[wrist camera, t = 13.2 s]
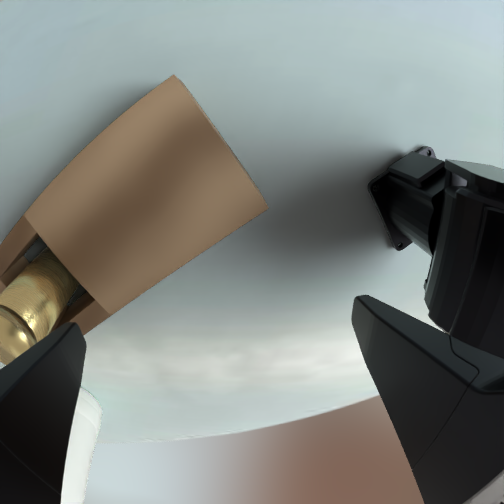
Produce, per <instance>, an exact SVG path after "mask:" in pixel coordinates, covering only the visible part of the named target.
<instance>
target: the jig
mask: <svg viewBox="0 0 504 504" xmlns="http://www.w3.org/2000/svg"><path fill="white" fill-rule="evenodd" d="M267 209H269V207H268V205H267V204H266V202H265V200H264V198H263V196H262V194H261V193H260V191H259V189H258V188H257V186H256V185H255V183H254V182H253V181H252V179H251V178H250V176H249V175H248V173H247V172H246V170H245V169H244V167H243V166H242V165H241V163H240V162H239V160H238V159H237V157H236V156H235V155H234V153H233V152H232V150H231V149H230V147H229V146H228V145H227V143H226V142H225V140H224V139H223V137H222V136H221V135H220V133H219V132H218V130H217V129H216V128H215V126H214V125H213V123H212V122H211V121H210V119H209V118H208V117H207V115H206V114H205V112H204V111H203V110H202V108H201V107H200V106H199V104H198V103H197V101H196V100H195V99H194V97H193V96H192V95H191V93H190V92H189V91H188V89H187V88H186V86H185V85H184V84H183V82H181V81H180V80H179V79H178V78H177V77H176V76H175V75H172V76H171V77H170V78H168V79H167V80H165V81H164V82H163V83H161V84H160V85H159V86H157V87H156V88H155V89H153V90H152V91H151V92H149V93H148V94H147V95H145V96H144V97H143V98H141V99H140V100H139V101H138V102H136V103H135V104H134V105H133V106H131V107H130V108H129V109H128V110H127V111H125V112H124V113H123V114H122V115H121V116H119V117H118V118H117V119H116V120H115V121H114V122H112V123H111V124H110V125H109V126H108V127H107V128H106V129H104V130H103V131H102V132H101V133H100V134H99V135H98V136H97V137H96V138H95V139H93V140H92V141H91V142H90V143H89V144H88V145H87V146H86V147H85V148H84V149H83V150H82V151H81V152H80V153H79V154H78V155H77V156H76V157H75V158H74V159H73V160H72V161H71V162H70V163H69V164H68V165H67V166H66V167H65V168H64V169H63V170H62V171H61V172H60V173H59V174H58V175H57V176H56V178H55V179H54V180H53V181H52V182H51V183H50V184H49V185H48V186H47V187H46V189H45V190H44V191H43V192H42V193H41V194H40V195H39V197H38V198H37V199H36V200H35V201H34V202H33V204H32V205H31V206H30V207H29V208H28V210H27V211H26V212H25V213H24V215H23V216H22V217H21V218H20V220H19V221H18V222H17V223H16V225H15V226H14V227H13V229H12V230H11V231H10V233H9V234H8V235H7V237H6V238H5V239H4V241H3V242H2V244H1V245H0V294H1V293H2V292H3V291H4V290H5V289H6V288H7V287H8V285H9V284H10V283H11V282H12V281H13V280H14V279H15V278H16V277H17V276H18V275H19V274H20V273H21V272H22V271H23V270H24V269H25V268H26V267H27V266H28V265H29V264H30V263H29V262H28V260H27V259H26V258H25V257H24V254H25V253H26V252H27V251H28V250H29V248H30V247H31V246H32V245H33V244H34V243H35V241H36V240H37V239H38V238H39V237H41V238H42V239H43V241H44V242H45V243H46V244H47V246H48V247H49V248H50V249H51V250H52V252H53V253H54V254H55V255H56V256H57V258H58V259H59V260H60V261H61V262H62V264H63V265H64V266H65V267H66V268H67V269H68V270H69V272H70V273H71V274H72V275H73V276H74V277H75V278H76V279H77V281H78V282H79V283H80V284H81V285H82V286H83V287H84V288H85V289H86V290H87V292H86V293H85V294H84V295H82V296H81V297H80V298H79V299H78V300H76V301H75V302H74V303H73V304H72V305H70V306H69V307H68V306H67V305H66V306H65V307H64V309H63V311H62V312H61V314H60V315H59V317H58V319H57V320H56V322H55V323H54V325H53V327H52V328H51V330H50V332H49V333H48V334H50V333H51V332H53V331H54V330H55V329H57V328H58V327H60V326H61V325H63V324H64V323H66V322H76V323H77V324H78V325H79V327H80V330H81V332H82V334H83V335H85V334H86V333H87V332H89V331H90V330H92V329H93V328H94V327H96V326H97V325H99V324H100V323H101V322H103V321H104V320H106V319H107V318H108V317H110V316H111V315H113V314H114V313H115V312H117V311H118V310H120V309H121V308H122V307H124V306H125V305H127V304H128V303H130V302H131V301H132V300H134V299H135V298H137V297H138V296H140V295H141V294H142V293H144V292H145V291H147V290H148V289H150V288H151V287H153V286H154V285H155V284H157V283H158V282H160V281H161V280H163V279H164V278H166V277H167V276H168V275H170V274H171V273H173V272H174V271H176V270H177V269H179V268H180V267H182V266H183V265H185V264H186V263H187V262H189V261H190V260H192V259H193V258H195V257H196V256H198V255H199V254H201V253H202V252H204V251H205V250H207V249H208V248H210V247H211V246H213V245H214V244H216V243H217V242H219V241H220V240H222V239H223V238H225V237H226V236H228V235H229V234H231V233H232V232H234V231H235V230H237V229H238V228H240V227H241V226H243V225H244V224H246V223H247V222H249V221H250V220H252V219H253V218H255V217H256V216H258V215H259V214H261V213H263V212H264V211H266V210H267Z"/></svg>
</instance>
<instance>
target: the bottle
mask: <svg viewBox="0 0 504 504" xmlns="http://www.w3.org/2000/svg"><path fill="white" fill-rule="evenodd" d="M102 415H103V412H102V407H101V405H100V404H99V402H98V400H97V399H96V398H95V397H93V396H92V395H91V394H90V393H89V392H88V391H86V390H85V389H83V388H82V387H80V391H79V395H78V400H77V404H76V408H75V413H74V418H73V423H72V428H71V433H70V439H69V444H68V450H67V456H66V463H65V470H64V477H63V485H62V494H61V504H83V503H84V497H85V492H86V485H87V481H88V475H89V471H90V466H91V461H92V457H93V452H94V448H95V443H96V439H97V435H98V434H99V431H100V427H101V419H102Z"/></svg>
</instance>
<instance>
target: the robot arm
mask: <svg viewBox="0 0 504 504" xmlns="http://www.w3.org/2000/svg"><path fill="white" fill-rule="evenodd" d="M427 151H428V152H429V153H428V155H427ZM375 185H377V188H376V189H375V190H373V187H374V186H375ZM368 190H369V192H370V194H371V197H372V199H373V201H374V203H375V205H376V207H377V210H378V212H379V214H380V216H381V219H382V221H383V223H384V225H385V228H386V230H387V232H388V235H389V237H390V239H391V242H392V244H393V247H394V248H395V249H396V250H398V251H401V250H403V249H404V248H405V247H407V246H408V245H410V244H411V243H412V242H414V243H415V244H416V245H418V246H419V247H420V248H421V249H423V250H424V251H425V252H426V253H428V254H429V255H430V256H431V257H432V260H431V264H430V269H429V273H428V277H427V279H426V280H425V283H424V289H425V298H424V300H425V302H426V305H427V307H428V309H429V314H428V316H429V318H430V319H431V320H432V321H433V322H434V323H435V324H436V325H437V326H438V327H439V328H440V329H442V330H443V331H444V332H445V333H444V332H442V331H440V330H438V329H436V328H434V327H432V326H430V325H428V324H426V323H424V322H422V321H420V320H418V319H416V318H414V317H412V316H410V315H408V314H406V313H404V312H402V311H400V310H398V309H396V308H394V307H392V306H389V305H387V304H385V303H383V302H381V301H379V300H377V299H375V298H373V297H371V296H369V295H361V296H356V297H355V299H354V303H353V311H352V325H353V328H354V331H355V334H356V337H357V340H358V343H359V346H360V349H361V352H362V355H363V358H364V360H365V363H366V365H367V368H368V370H369V372H370V374H371V376H372V378H373V381H374V383H375V385H376V387H377V389H378V392H379V394H380V396H381V398H382V400H383V403H384V405H385V407H386V410H387V412H388V414H389V416H390V419H391V421H392V423H393V425H394V428H395V430H396V433H397V435H398V437H399V440H400V442H401V445H402V447H403V449H404V452H405V454H406V457H407V459H408V461H409V464H410V466H411V469H412V472H413V475H414V477H415V479H416V482H417V485H418V487H419V490H420V492H421V495H422V498H423V501H424V503H425V504H504V169H501V168H498V167H495V166H491V165H485V164H479V163H472V162H464V161H456V160H448V159H445V162H444V161H442V160H439V159H436V156H435V153H434V151H433V149H432V148H431V147H428V146H425V147H423V148H421V149H420V150H418V151H417V152H411V153H409V154H408V155H406V156H405V157H403V158H402V159H400V160H399V161H397V162H395V163H394V164H392V165H391V166H389V168H388V171H386V172H385V173H383V174H381V175H380V176H378V177H377V178H375V179H374V180H372V181H371V182H370V183H369V185H368ZM400 242H401V243H400ZM399 243H400V245H399V246H398V244H399ZM85 353H86V341H85V339H84V337H83V334H82V332H81V330H80V327H79V325H78V324H77V323H76V322H66V323H64V324H63V325H61V326H60V327H58V328H57V329H55V330H54V331H53V332H51V333H50V334H48V335H47V336H46V337H44V338H43V339H41V340H40V341H39V342H37V343H36V344H34V345H33V346H32V347H30V348H29V349H28V350H26V351H25V352H24V353H22V354H21V355H19V356H18V357H17V358H15V359H14V360H13V361H11V362H10V363H9V364H7V365H6V366H5V367H3V368H2V369H1V370H0V504H61V494H62V485H63V477H64V470H65V463H66V456H67V450H68V444H69V439H70V433H71V428H72V423H73V418H74V413H75V408H76V404H77V400H78V395H79V391H80V386H81V380H82V373H83V366H84V360H85Z"/></svg>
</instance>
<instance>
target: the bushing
mask: <svg viewBox="0 0 504 504" xmlns="http://www.w3.org/2000/svg"><path fill="white" fill-rule="evenodd" d="M79 285H80V283H79V282H78V281H77V279H76V278H75V277H74V276H73V275H72V274H71V273H70V272H69V270H68V269H67V268H66V267H65V266H64V265H63V264H62V262H61V261H60V260H59V259H58V258H57V256H56V255H55V254H54V253H53V252H52V250H51V249H50V248H49V247H48V246H47V247H46V248H45V249H44V250H43V251H42V252H41V253H40V254H39V255H38V256H37V257H36V258H35V259H34V260H33V261H32V262H31V263H30V264H29V265H28V266H27V267H26V268H25V269H24V270H23V271H22V272H21V273H20V274H19V275H18V276H17V277H16V278H15V279H14V280H13V281H12V282H11V283H10V284H9V285H8V287H7V288H6V289H5V290H4V291H3V292H2V293H1V294H0V361H1V362H2V363H3V364H5V365H7V364H9V363H10V362H11V361H13V360H14V359H15V358H17V357H18V356H19V355H21V354H22V353H24V352H25V351H26V350H28V349H29V348H30V347H32V346H33V345H34V344H36V343H37V342H39V341H40V340H41V339H43V338H44V337H46V336H47V335H48V333H49V332H50V330H51V328H52V327H53V325H54V323H55V322H56V320H57V319H58V317H59V315H60V314H61V312H62V311H63V309H64V307H65V306H66V304H67V303H68V301H69V300H70V298H71V297H72V295H73V294H74V292H75V291H76V289H77V288H78V286H79Z"/></svg>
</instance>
